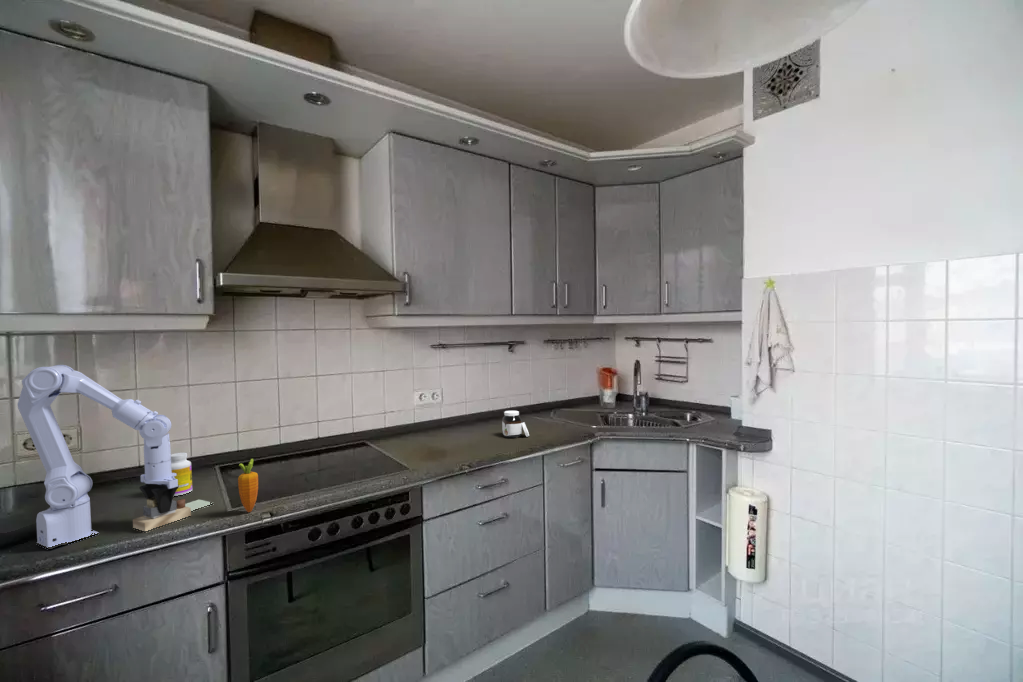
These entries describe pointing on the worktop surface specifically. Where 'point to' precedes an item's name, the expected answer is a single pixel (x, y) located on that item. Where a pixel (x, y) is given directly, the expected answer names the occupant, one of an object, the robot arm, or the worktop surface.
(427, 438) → the worktop surface
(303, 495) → the worktop surface
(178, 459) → the supplement bottle
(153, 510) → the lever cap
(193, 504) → the sage mat
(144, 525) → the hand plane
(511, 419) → the spread jar
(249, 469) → the carrot
